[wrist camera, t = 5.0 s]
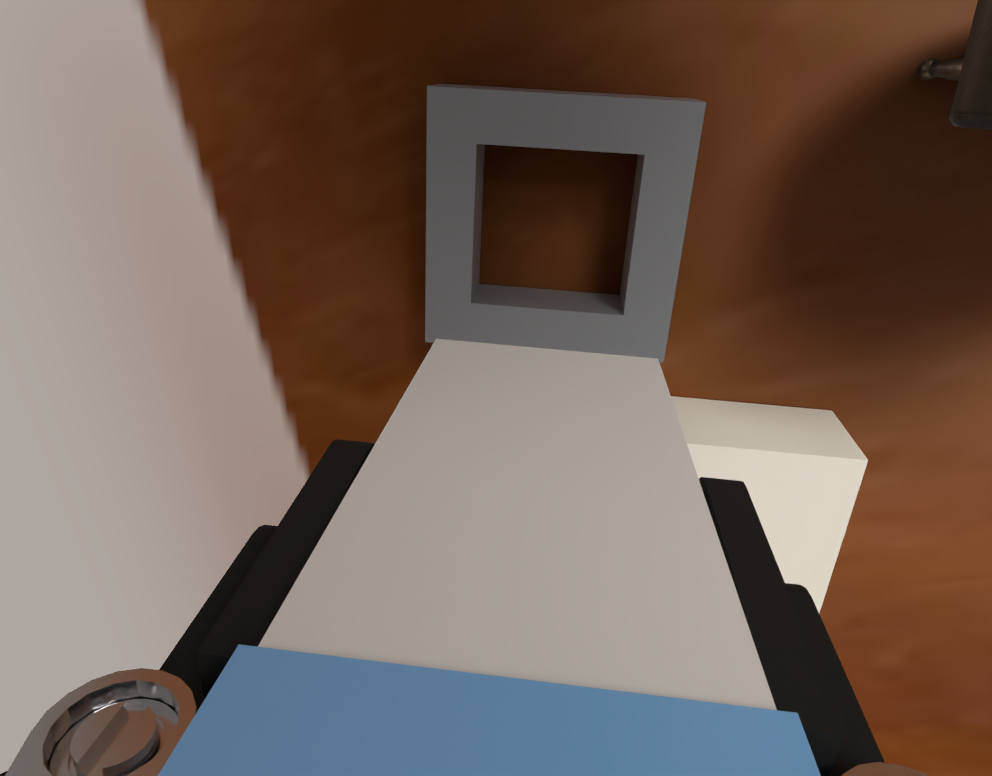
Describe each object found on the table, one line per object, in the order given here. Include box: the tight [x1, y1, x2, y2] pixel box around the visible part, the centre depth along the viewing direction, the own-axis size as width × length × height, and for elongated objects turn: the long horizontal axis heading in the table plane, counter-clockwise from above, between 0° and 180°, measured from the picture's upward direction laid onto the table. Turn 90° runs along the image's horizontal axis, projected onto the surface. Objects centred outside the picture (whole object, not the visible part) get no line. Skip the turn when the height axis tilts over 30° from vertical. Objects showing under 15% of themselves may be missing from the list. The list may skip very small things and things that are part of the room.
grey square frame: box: [425, 84, 706, 362], centre depth 26 cm, size 9×9×2 cm
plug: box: [158, 339, 821, 776], centre depth 9 cm, size 4×4×10 cm
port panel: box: [671, 396, 868, 613], centre depth 31 cm, size 14×14×4 cm
